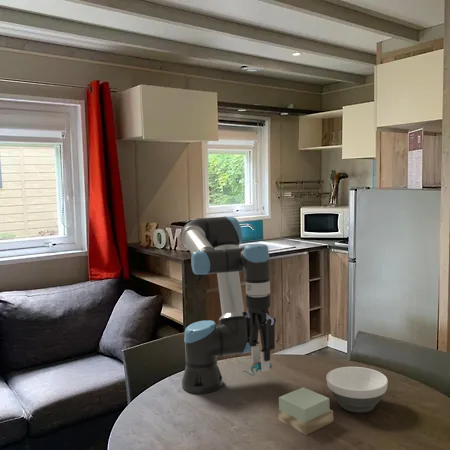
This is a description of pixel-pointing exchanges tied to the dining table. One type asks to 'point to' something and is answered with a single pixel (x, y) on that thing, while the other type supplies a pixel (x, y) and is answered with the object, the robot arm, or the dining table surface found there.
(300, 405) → the tower top
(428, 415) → the dining table surface
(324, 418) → the tower base
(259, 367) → the dragon figurine
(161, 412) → the dining table surface
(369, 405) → the bowl
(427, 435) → the dining table surface
